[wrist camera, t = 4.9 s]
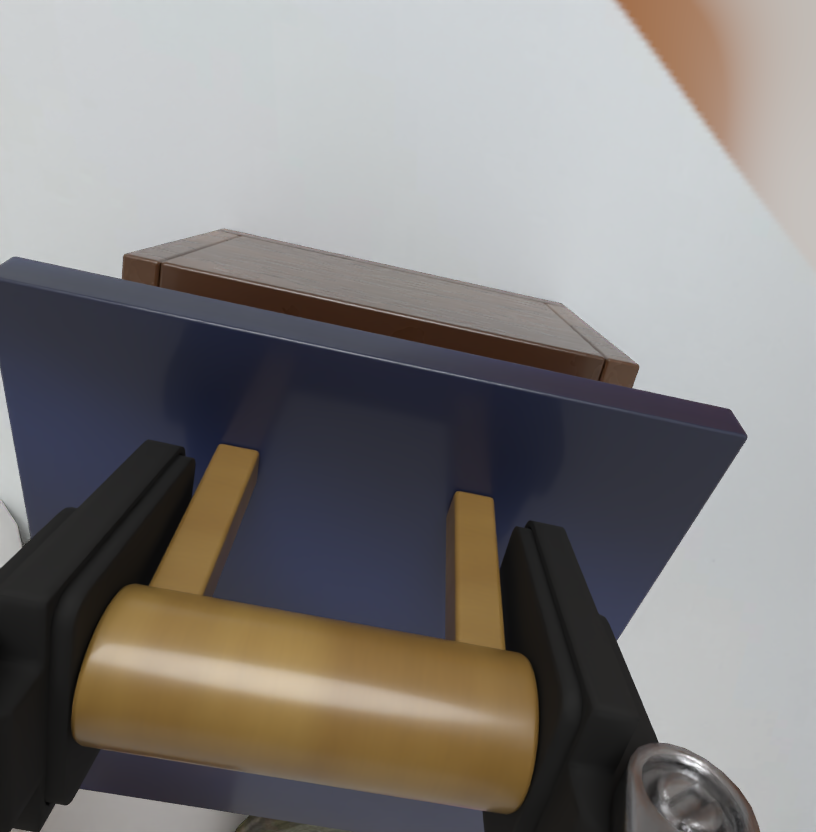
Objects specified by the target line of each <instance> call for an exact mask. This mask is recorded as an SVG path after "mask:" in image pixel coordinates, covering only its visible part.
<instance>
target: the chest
mask: <svg viewBox="0 0 816 832" xmlns="http://www.w3.org/2000/svg"><path fill="white" fill-rule="evenodd" d="M122 279H123V280H128V281H132V282H137V283H142V284H147V285H151V286H156V287H161V288H165V289H170V290H175V291H179V292H184V293H189V294H193V295H198V296H203V297H207V298H212V299H217V300H221V301H226V302H231V303H235V304H240V305H245V306H249V307H254V308H259V309H263V310H268V311H273V312H277V313H282V314H287V315H292V316H296V317H301V318H306V319H310V320H315V321H320V322H324V323H329V324H334V325H338V326H343V327H348V328H352V329H357V330H362V331H366V332H371V333H376V334H380V335H385V336H390V337H394V338H399V339H404V340H408V341H413V342H418V343H422V344H427V345H432V346H437V347H441V348H446V349H451V350H455V351H460V352H465V353H469V354H474V355H479V356H483V357H488V358H493V359H497V360H502V361H507V362H511V363H516V364H521V365H525V366H530V367H535V368H539V369H544V370H549V371H553V372H558V373H563V374H567V375H572V376H577V377H582V378H586V379H591V380H596V381H600V382H605V383H610V384H614V385H619V386H624V387H628V388H632V387H633V384H634V381H635V378H636V375H637V373H638V370H639V365H638V364H637V363H635V362H634V361H633V360H632V359H630V358H629V357H628V356H627V355H625V354H624V353H623V352H622V351H620V350H619V349H618V348H617V347H615V346H614V345H613V344H612V343H610V342H609V341H608V340H607V339H605V338H604V337H603V336H602V335H600V334H599V333H598V332H597V331H595V330H594V329H593V328H592V327H590V326H589V325H588V324H587V323H585V322H584V321H583V320H582V319H580V318H579V317H578V316H577V315H575V314H574V313H573V312H572V311H570V310H569V309H568V308H567V307H565V306H564V305H563V304H561V303H557V302H552V301H548V300H543V299H539V298H534V297H530V296H525V295H521V294H516V293H512V292H507V291H503V290H498V289H494V288H489V287H485V286H480V285H476V284H471V283H467V282H462V281H458V280H453V279H449V278H444V277H440V276H435V275H431V274H426V273H422V272H417V271H413V270H408V269H404V268H399V267H395V266H390V265H386V264H381V263H377V262H372V261H368V260H363V259H359V258H354V257H350V256H345V255H341V254H336V253H332V252H327V251H323V250H318V249H313V248H309V247H304V246H300V245H295V244H291V243H286V242H282V241H277V240H273V239H268V238H264V237H259V236H255V235H250V234H246V233H241V232H237V231H232V230H228V229H220V230H216V231H212V232H209V233H205V234H201V235H197V236H193V237H189V238H185V239H181V240H177V241H173V242H170V243H166V244H162V245H158V246H154V247H150V248H146V249H142V250H138V251H134V252H131V253H127V254H124V256H123V268H122Z"/></svg>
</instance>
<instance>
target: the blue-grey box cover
mask: <svg viewBox="0 0 816 832" xmlns="http://www.w3.org/2000/svg"><path fill="white" fill-rule="evenodd" d="M0 369H1V375H2V380H3V386H4V391H5V397H6V402H7V408H8V413H9V419H10V424H11V430H12V436H13V441H14V447H15V452H16V458H17V463H18V469H19V474H20V480H21V485H22V491H23V497H24V502H25V508H26V513H27V519H28V524H29V530H30V535H31V539H32V538H33V537H34V536H35V535H36V534H37V533H38V532H39V531H40V530H41V529H42V528H43V527H44V526H45V525H46V524H47V523H48V522H49V521H51V520H52V519H53V518H54V517H55V516H56V515H57V514H58V513H59V512H60V511H62V510H63V509H65V508H67V507H74V508H78V507H79V506H80V505H81V504H82V503H83V502H84V501H85V500H86V499H87V498H88V497H89V496H90V495H91V494H92V493H93V492H94V491H95V490H96V489H97V488H98V487H99V486H100V485H101V484H102V483H103V482H104V481H105V480H106V479H107V478H108V477H109V476H110V475H111V474H112V473H113V472H114V471H115V470H116V469H117V468H118V467H119V466H120V465H121V464H122V463H123V462H124V461H125V460H126V459H127V458H128V457H129V456H131V455H132V454H133V453H134V452H135V451H136V450H137V449H138V448H139V447H140V446H141V445H142V444H143V443H144V442H145V441H146V440H148V439H149V440H154V441H159V442H163V443H168V444H173V445H177V446H182V447H184V448H185V454H186V457H191V458H194V459H195V462H196V466H195V475H194V484H193V492H192V499H191V501H190V503H189V505H188V507H187V509H186V511H185V513H184V515H183V517H182V519H181V521H180V523H179V525H178V527H177V529H176V531H175V533H174V535H173V537H172V539H171V541H170V543H169V545H168V548H167V550H166V552H165V554H164V556H163V558H162V560H161V562H160V564H159V566H158V568H157V570H156V572H155V574H154V576H153V578H152V580H151V582H150V584H149V586H147V585H142V584H136V583H135V584H129V585H126V586H124V587H123V588H122V589H120V590H119V592H118V593H117V594H116V595H115V596H114V598H113V599H112V600H111V602H110V603H109V605H108V606H107V608H106V610H105V611H104V613H103V615H102V617H101V618H100V620H99V622H98V624H97V626H96V629H95V631H94V633H93V635H92V638H91V640H90V642H89V645H88V648H87V650H86V653H85V656H84V659H83V662H82V665H81V668H80V672H79V675H78V679H77V683H76V687H75V692H74V698H73V704H72V715H71V731H72V736H73V739H74V740H75V741H76V742H77V743H78V744H80V745H81V746H84V747H91V748H97V749H101V750H100V751H99V753H98V755H97V757H96V759H95V760H94V762H93V764H92V766H91V768H90V770H89V771H88V773H87V775H86V777H85V779H84V781H83V782H82V784H81V786H80V788H79V789H85V790H91V791H98V792H104V793H111V794H117V795H123V796H130V797H136V798H142V799H149V800H155V801H162V802H168V803H174V804H181V805H187V806H194V807H200V808H206V809H213V810H219V811H225V812H232V813H238V814H245V815H251V816H257V817H264V818H270V819H276V820H283V821H289V822H296V823H302V824H308V825H315V826H321V827H327V828H334V829H340V830H347V831H353V832H484V823H483V813H482V811H487V812H493V813H499V814H506V815H507V814H511V813H514V812H516V811H517V810H518V809H519V808H520V807H521V805H522V803H523V802H524V800H525V797H526V795H527V792H528V789H529V786H530V783H531V779H532V775H533V771H534V766H535V761H536V755H537V747H538V736H539V701H538V691H537V684H536V679H535V674H534V671H533V668H532V665H531V663H530V661H529V660H528V658H527V657H525V656H524V655H522V654H521V653H519V652H513V651H507V650H506V647H505V634H504V622H503V609H502V597H501V584H500V572H499V570H500V567H501V564H502V561H503V558H504V555H505V552H506V549H507V546H508V543H509V540H510V537H511V534H512V531H513V529H514V528H515V527H516V526H518V527H523V528H524V527H525V525H526V524H527V522H528V521H530V520H531V521H536V522H541V523H545V524H550V525H555V526H560V527H563V528H564V529H565V531H566V533H567V536H568V538H569V541H570V543H571V546H572V548H573V551H574V553H575V556H576V558H577V561H578V563H579V566H580V568H581V571H582V573H583V576H584V578H585V581H586V583H587V586H588V588H589V591H590V593H591V596H592V598H593V601H594V603H595V606H596V608H597V611H598V613H599V614H600V615H602V616H604V617H605V618H606V619H607V621H608V622H609V624H610V627H611V629H612V631H613V634H614V636H615V639H616V641H617V640H618V638H619V637H620V635H621V634H622V632H623V630H624V629H625V627H626V626H627V624H628V623H629V621H630V620H631V618H632V616H633V615H634V613H635V612H636V610H637V609H638V607H639V606H640V604H641V603H642V601H643V599H644V598H645V596H646V595H647V593H648V592H649V590H650V589H651V587H652V585H653V584H654V582H655V581H656V579H657V578H658V576H659V575H660V573H661V572H662V570H663V568H664V567H665V565H666V564H667V562H668V561H669V559H670V558H671V556H672V554H673V553H674V551H675V550H676V548H677V547H678V545H679V544H680V542H681V540H682V539H683V537H684V536H685V534H686V533H687V531H688V530H689V528H690V527H691V525H692V523H693V522H694V520H695V519H696V517H697V516H698V514H699V513H700V511H701V509H702V508H703V506H704V505H705V503H706V502H707V500H708V499H709V497H710V495H711V494H712V492H713V491H714V489H715V488H716V486H717V485H718V483H719V482H720V480H721V478H722V477H723V475H724V474H725V472H726V471H727V469H728V468H729V466H730V464H731V463H732V461H733V460H734V458H735V457H736V455H737V454H738V452H739V450H740V449H741V447H742V446H743V444H744V443H745V441H746V440H747V434H746V433H745V431H744V430H743V428H742V427H741V425H740V423H739V422H738V420H737V419H736V417H735V416H734V414H733V412H732V411H731V410H730V409H727V408H722V407H717V406H712V405H708V404H703V403H698V402H694V401H689V400H684V399H680V398H675V397H670V396H666V395H661V394H656V393H652V392H647V391H642V390H638V389H633V388H628V387H624V386H619V385H614V384H610V383H605V382H600V381H596V380H591V379H586V378H582V377H577V376H572V375H567V374H563V373H558V372H553V371H549V370H544V369H539V368H535V367H530V366H525V365H521V364H516V363H511V362H507V361H502V360H497V359H493V358H488V357H483V356H479V355H474V354H469V353H465V352H460V351H455V350H451V349H446V348H441V347H437V346H432V345H427V344H422V343H418V342H413V341H408V340H404V339H399V338H394V337H390V336H385V335H380V334H376V333H371V332H366V331H362V330H357V329H352V328H348V327H343V326H338V325H334V324H329V323H324V322H320V321H315V320H310V319H306V318H301V317H296V316H292V315H287V314H282V313H277V312H273V311H268V310H263V309H259V308H254V307H249V306H245V305H240V304H235V303H231V302H226V301H221V300H217V299H212V298H207V297H203V296H198V295H193V294H189V293H184V292H179V291H175V290H170V289H165V288H161V287H156V286H151V285H147V284H142V283H137V282H132V281H128V280H123V279H118V278H114V277H109V276H104V275H100V274H95V273H90V272H86V271H81V270H76V269H72V268H67V267H62V266H58V265H53V264H48V263H44V262H39V261H34V260H30V259H25V258H20V257H12V258H10V259H9V260H7V261H6V262H4V263H3V264H1V265H0Z"/></svg>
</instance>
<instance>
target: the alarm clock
mask: <svg viewBox="0 0 816 832" xmlns="http://www.w3.org/2000/svg"><path fill="white" fill-rule="evenodd" d="M21 548H22V543H21V538H20V533H19V529H18V526H17V523H16V522H15V520H14V519H13V517H12V516H11V514H10V513H9V511H8V510H7V508H6V506H5V505H4V503H3V502H2V501H1V500H0V568H1V567H2V566H3V565H4V564H5V563H7V562H8V561H9V560H10V559H11V558H12V557H13V556H14V555H15V554H16V553H17V552H18V551H19V550H20V549H21Z"/></svg>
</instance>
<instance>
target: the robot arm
mask: <svg viewBox="0 0 816 832" xmlns="http://www.w3.org/2000/svg"><path fill="white" fill-rule="evenodd" d="M195 466H196V462H195V459H194V458H191V457H186V454H185V448H184V447H182V446H177V445H173V444H168V443H163V442H159V441H154V440H149V439H148V440H146V441H145V442H144V443H143V444H142V445H141V446H140V447H139V448H138V449H137V450H136V451H135V452H134V453H133V454H132V455H131V456H129V457H128V458H127V459H126V460H125V461H124V462H123V463H122V464H121V465H120V466H119V467H118V468H117V469H116V470H115V471H114V472H113V473H112V474H111V475H110V476H109V477H108V478H107V479H106V480H105V481H104V482H103V483H102V484H101V485H100V486H99V487H98V488H97V489H96V490H95V491H94V492H93V493H92V494H91V495H90V496H89V497H88V498H87V499H86V500H85V501H84V502H83V503H82V504H81V505H80V506H79V507H78V508H74V507H67V508H65V509H63V510H62V511H60V512H59V513H58V514H57V515H56V516H55V517H54V518H53V519H52V520H51V521H49V522H48V523H47V524H46V525H45V526H44V527H43V528H42V529H41V530H40V531H39V532H38V533H37V534H36V535H35V536H34V537H33V538H32V539H31V540H30V541H29V542H27V543H26V544H25V545H24V546H23V547H22V548H21V549H20V550H19V551H18V552H17V553H16V554H15V555H14V556H13V557H12V558H11V559H10V560H9V561H8V562H7V563H5V564H4V565H3V566H2V567H1V568H0V832H10V831H11V829H12V828H15V829H21V830H26V831H32V832H40V830H41V828H42V827H43V825H44V823H45V821H46V820H47V818H48V816H49V814H50V813H51V811H52V809H53V807H54V806H55V804H61V805H68V804H69V803H70V802H71V801H72V800H73V798H74V797H75V795H76V793H77V791H78V790H79V788H80V786H81V784H82V782H83V781H84V779H85V777H86V775H87V773H88V771H89V770H90V768H91V766H92V764H93V762H94V760H95V759H96V757H97V755H98V753H99V751H100V750H101V749H97V748H91V747H84V746H81V745H80V744H78V743H77V742H76V741H75V740H74V739H73V736H72V731H71V715H72V704H73V698H74V692H75V687H76V683H77V679H78V675H79V672H80V668H81V665H82V662H83V659H84V656H85V653H86V650H87V648H88V645H89V642H90V640H91V638H92V635H93V633H94V631H95V629H96V626H97V624H98V622H99V620H100V618H101V617H102V615H103V613H104V611H105V610H106V608H107V606H108V605H109V603H110V602H111V600H112V599H113V598H114V596H115V595H116V594H117V593H118V592H119V590H120V589H122V588H123V587H124V586H126V585H129V584H135V583H136V584H142V585H147V586H149V584H150V582H151V580H152V578H153V576H154V574H155V572H156V570H157V568H158V566H159V564H160V562H161V560H162V558H163V556H164V554H165V552H166V550H167V548H168V545H169V543H170V541H171V539H172V537H173V535H174V533H175V531H176V529H177V527H178V525H179V523H180V521H181V519H182V517H183V515H184V513H185V511H186V509H187V507H188V505H189V503H190V501H191V499H192V492H193V484H194V475H195ZM499 572H500V584H501V597H502V609H503V622H504V634H505V647H506V650H507V651H513V652H519V653H521V654H522V655H524V656H525V657H527V658H528V660H529V661H530V663H531V665H532V668H533V671H534V674H535V679H536V684H537V691H538V701H539V736H538V747H537V755H536V761H535V766H534V771H533V775H532V779H531V783H530V786H529V789H528V792H527V795H526V797H525V800H524V802H523V803H522V805H521V807H520V808H519V809H518V810H517V811H516V812H514V813H511V814H507V815H506V814H499V813H493V812H487V811H482V813H483V823H484V832H760V829H759V825H758V822H757V820H756V817H755V815H754V812H753V810H752V807H751V806H750V804H749V803H748V801H747V800H746V798H745V797H744V795H743V794H742V792H741V791H740V789H739V788H738V787H737V786H736V785H735V784H734V783H733V782H732V781H731V780H730V779H729V778H728V777H727V776H726V775H725V774H724V773H723V772H722V771H721V770H719V769H718V768H717V767H715V766H714V765H713V764H711V763H710V762H709V761H707V760H706V759H705V758H703V757H701V756H699V755H697V754H695V753H693V752H691V751H689V750H687V749H685V748H682V747H678V746H675V745H672V744H668V743H659V742H658V740H657V737H656V735H655V732H654V730H653V728H652V725H651V723H650V720H649V718H648V716H647V713H646V711H645V708H644V706H643V704H642V701H641V699H640V696H639V694H638V692H637V689H636V687H635V684H634V682H633V679H632V677H631V675H630V672H629V670H628V667H627V665H626V663H625V660H624V658H623V655H622V653H621V651H620V648H619V646H618V643H617V641H616V639H615V636H614V634H613V631H612V629H611V627H610V624H609V622H608V621H607V619H606V618H605V617H604V616H602V615H600V614H599V613H598V611H597V608H596V606H595V603H594V601H593V598H592V596H591V593H590V591H589V588H588V586H587V583H586V581H585V578H584V576H583V573H582V571H581V568H580V566H579V563H578V561H577V558H576V556H575V553H574V551H573V548H572V546H571V543H570V541H569V538H568V536H567V533H566V531H565V529H564V528H563V527H560V526H555V525H550V524H545V523H541V522H536V521H531V520H530V521H528V522H527V524H526V525H525V527H524V528H523V527H518V526H516V527H515V528H514V529H513V531H512V534H511V537H510V540H509V543H508V546H507V549H506V552H505V555H504V558H503V561H502V564H501V567H500V570H499Z"/></svg>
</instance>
